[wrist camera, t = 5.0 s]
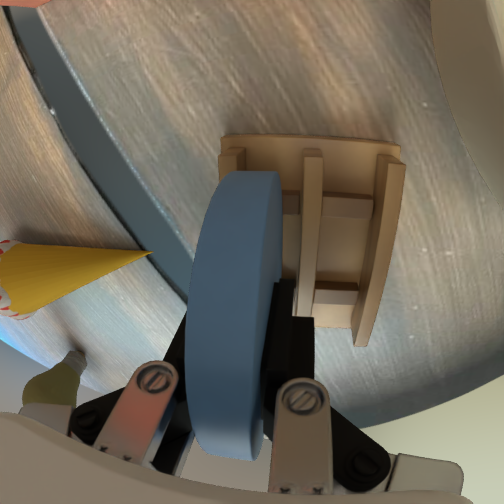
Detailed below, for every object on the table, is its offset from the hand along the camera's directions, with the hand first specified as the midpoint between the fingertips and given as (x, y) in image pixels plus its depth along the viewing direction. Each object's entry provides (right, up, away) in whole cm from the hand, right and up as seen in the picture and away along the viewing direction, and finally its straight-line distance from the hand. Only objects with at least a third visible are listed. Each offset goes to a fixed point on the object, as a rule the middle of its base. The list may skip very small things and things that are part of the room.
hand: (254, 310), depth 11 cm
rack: (+3, +3, +5) cm, 7 cm away
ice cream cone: (-16, +1, +10) cm, 18 cm away
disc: (0, 0, 0) cm, 0 cm away
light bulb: (-18, -9, +16) cm, 25 cm away
